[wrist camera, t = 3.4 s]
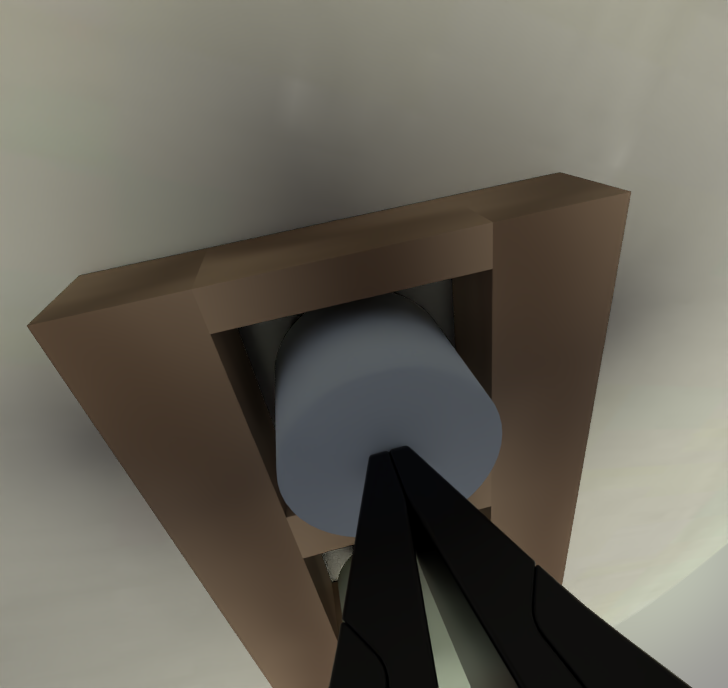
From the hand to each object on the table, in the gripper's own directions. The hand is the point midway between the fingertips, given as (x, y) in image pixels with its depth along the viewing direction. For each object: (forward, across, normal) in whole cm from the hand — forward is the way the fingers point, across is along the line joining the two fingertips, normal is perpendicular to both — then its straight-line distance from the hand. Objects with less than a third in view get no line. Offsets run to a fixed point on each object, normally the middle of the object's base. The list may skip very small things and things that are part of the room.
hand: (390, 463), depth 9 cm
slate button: (+3, 0, 0) cm, 3 cm away
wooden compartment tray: (+4, 0, +8) cm, 9 cm away
